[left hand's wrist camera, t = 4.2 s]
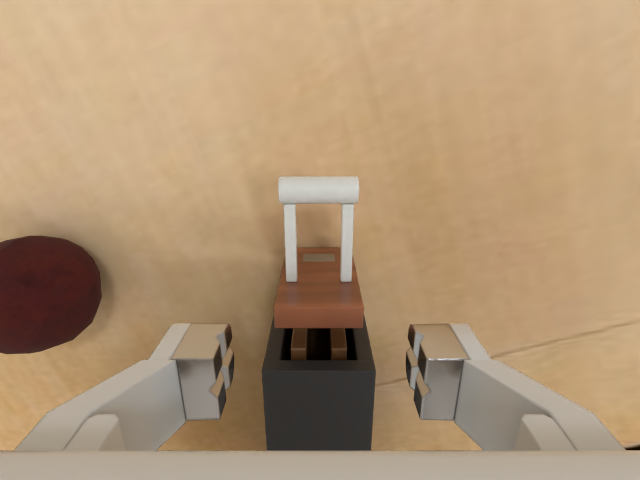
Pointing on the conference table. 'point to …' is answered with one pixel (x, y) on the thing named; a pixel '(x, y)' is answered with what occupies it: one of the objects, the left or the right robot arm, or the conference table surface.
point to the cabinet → (318, 396)
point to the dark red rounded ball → (45, 293)
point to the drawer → (318, 273)
